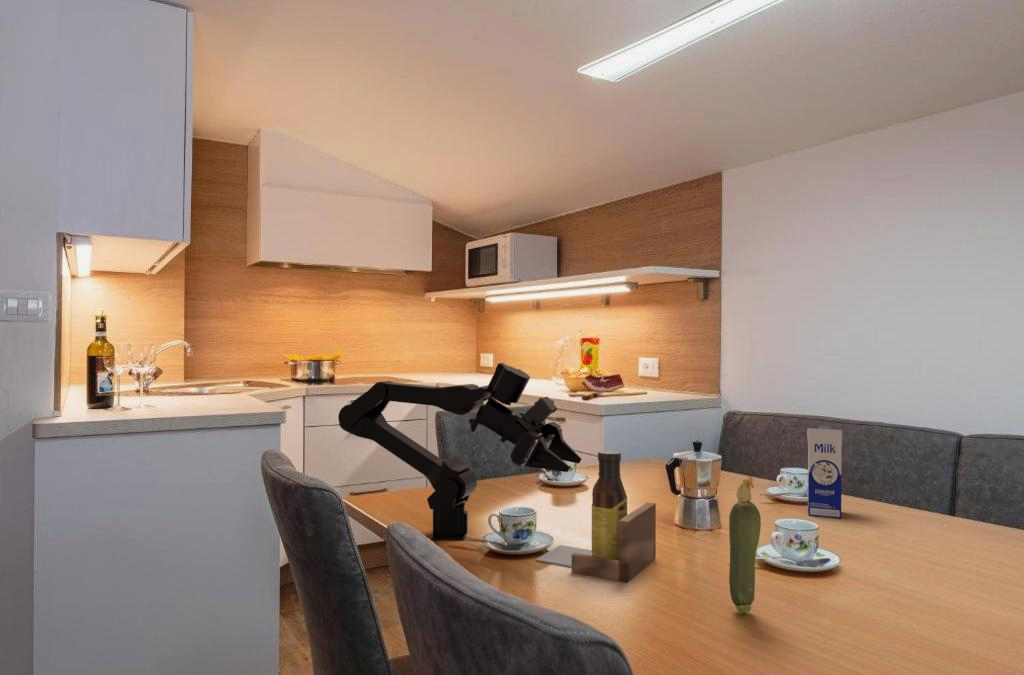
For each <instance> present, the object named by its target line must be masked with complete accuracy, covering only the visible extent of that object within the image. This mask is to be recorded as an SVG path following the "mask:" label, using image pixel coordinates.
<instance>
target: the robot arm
mask: <svg viewBox="0 0 1024 675" xmlns="http://www.w3.org/2000/svg"><path fill="white" fill-rule="evenodd" d="M530 379H531V376H530V375H529V374H528V373H526V372H525V371H524V370H522V369H519V368H516V367H513V366H511V365H507V364H505V363H504V362H499V363H497V365H496V368H495V370H494V373H493V375H492V376H491V379H490V380H489V384H488V385H482V386H479V385H477V384H475V383H467V384H466V383H465V384H459V385H458V384H457V385H447V386H436V385H435V386H433V385H424V384H423V385H422V384H414V383H413V384H412V383H402V382H394V381H391V380H385V381H378V382H376V383H374V384H373V385H372V386H371V387H370V388H369V389H368V390H367V391H365V392H364V393H363V394H361V395H360V396H359V397H357V398H356V399H354V400H353V401H352V402H351V403H350V404H345V405H344V406H343V407H342V408H341V409H340V410H339V412H338V425H339V427H340V428H341V429H342V430H343V431H344V432H346V433H349V434H351V435H353V436H355V437H358V438H363V439H365V440H371V441H373V442H374V443H376V444H378V445H379V446H380V447H382V448H383V449H385V450H386V451H387V452H389V453H390V454H392V455H393V456H395V457H397V458H398V459H399V460H401V461H403V462H404V463H405V464H407V465H408V466H410V467H411V468H413V469H414V470H415V471H418V472H419V473H420V474H422V475H423V476H424V477H425V478H427V480H428V482H429V484H430V485H431V487H432V489H433V490H434V491H433V492H432V493H431V494H430V495H429V496H428V497H427V498H426V501H427V504H428V507H429V509H431V510H432V534H431V540H436V541H437V540H438V541H439V540H443V541H444V540H445V541H447V540H456V541H457V540H458V541H459V540H461V541H462V540H465V537H466V535H467V534H468V532H469V512H468V510H466V503H467V502H468V501H469V498H470V496H471V494H473V493H474V492H475V491H476V488H477V485H478V480H477V476H476V475H477V474H476V473H475V472H474V471H473V470H472V469H471V467H472V465H470V464H466V463H464V462H463V461H462V460H460V458H459V457H457V456H456V455H454V456H452V457H448V458H447V459H442V458H440V457H439V456H437V455H436V454H434V453H433V452H431V451H430V450H428V449H427V448H425V447H424V446H422V445H421V444H419V443H417V442H416V441H414V440H413V439H412V438H411V437H409V436H407V435H406V434H405V433H403V432H401V431H399V430H398V429H396V427H394V426H392V425H391V424H389V423H388V421H387V420H386V418H385V416H384V415H383V413H382V412H384V411H385V409H387V406H388V405H389V403H390V402H393V403H394V402H396V403H406V404H414V405H415V404H416V405H423V406H431V407H437V408H439V409H441V410H443V411H445V412H449V413H452V414H456V415H458V416H462V415H467V414H471V413H474V412H476V413H475V416H474V417H473V418H469V420H468V422H469V425H470V431H471V433H476V432H479V431H481V429H482V427H483V428H485V429H487V430H488V431H490V432H491V433H493V434H495V435H496V436H498V437H499V438H500V439H499V441H500V442H502V443H503V444H506V443H509V444H511V445H512V446H514V447H513V449H512V451H511V453H510V454H509V455H510V459H511V462H512V463H513V464H515V465H516V466H518V467H520V468H522V467H523V466H524V467H525V468H534V469H543V470H550V471H556V472H562V473H563V472H564V473H568V472H569V471H570V469H571V467H570V465H569V464H568V463H566V462H570V463H573V464H574V463H575V464H580V463H581V461H582V457H581V456H579V455H578V453H576V451H575V450H574V449H573V448H572V447H571V446H570V445H569V444H568V443H567V442H566V441H565V439H564V436H563V429H562V428H561V427H562V425H560V424H559V423H557V422H555V421H551V422H550V421H549V422H546V423H544V421H545V420H546V419H547V418H548V417H549V416H551V415H552V414H553V413H555V412H556V411H557V410H558V407H557V406H556V404H554V403H555V401H554V399H551V398H549V397H548V396H545V397H539V398H538V400H537V401H535V402H534V404H533V405H532V406H531V407H530V408H529V409H528V410H527V411H526V412H524V411H522V412H516V411H515V410H513V409H511V408H510V407H508V406H511V405H512V403H513V404H517V403H518V402H519V400H520V398H521V396H522V394H523V393H524V391H525V388H526V387H527V385H528V383H529V381H530ZM484 402H486V403H485V404H484ZM506 405H507V406H506ZM525 459H526V460H527V461H526V460H525Z"/></svg>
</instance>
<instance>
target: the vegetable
mask: <svg viewBox="0 0 1024 675" xmlns="http://www.w3.org/2000/svg"><path fill="white" fill-rule="evenodd" d="M753 482H755V481H754V480H753V477H752V476H749V477H746V478H744V479H742V482H741V483H740V484H739V486H738V487H737V490H736V497H737V502H736V503H735V504H734V505H732V508H731V509H730V511H729V512H730V513H729V517H728V518H729V519H728V523H729V524H728V526H729V527H728V529H729V533H728V534H729V550H730V551H729V572H728V574H729V576H728V584H729V594H730V598H731V601H732V603H733V604H734V606H735V609H736V610H737V612H738V615H739V614H740V615H742V614H743V613H748V612H751V609H752V604H753V603H754V600H755V590H756V589H755V587H756V586H755V585H756V584H755V583H756V557H757V556H756V555H757V549H758V545H759V543H760V536H761V535H760V534H761V526H762V525H761V524H762V522H761V513H760V511H759V509H758V508H757V505H755V503H753V502H752V489H754V488H755V487H754V483H753Z"/></svg>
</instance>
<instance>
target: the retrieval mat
mask: <svg viewBox="0 0 1024 675" xmlns="http://www.w3.org/2000/svg"><path fill="white" fill-rule="evenodd" d="M573 553H579V554H584V555H590V556H592V549H587V548H580V547H576V546H575V547H573V546H567V545H564V544H563V545H562V544H560V545H558V546H556V547H554V548H553V549H551V550H550V551H548V552H546V553H544V554H543V555H541V556H539V557H537V558H536V559H535V562H540V563H545V564H550V565H555V566H561V567H567V568H571V569H572V554H573Z"/></svg>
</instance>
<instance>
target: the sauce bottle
mask: <svg viewBox="0 0 1024 675" xmlns="http://www.w3.org/2000/svg"><path fill="white" fill-rule="evenodd" d="M621 453H622V452H620V451H618V450H617V451H616V450H600V451H598V452H597V461H598V472H597V473H598V478H597V480H596V482H595V483H594V484H593V488H592V493H591V495H592V499H591V500H592V504H591V550H592V556H596V557H602V558H608V559H614V560H619V520H620V519H622V518H623V517H625V516H627V515H628V496H627V493H626V490H625V486H624V484H623V481H622V477H621V460H622V454H621Z"/></svg>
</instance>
